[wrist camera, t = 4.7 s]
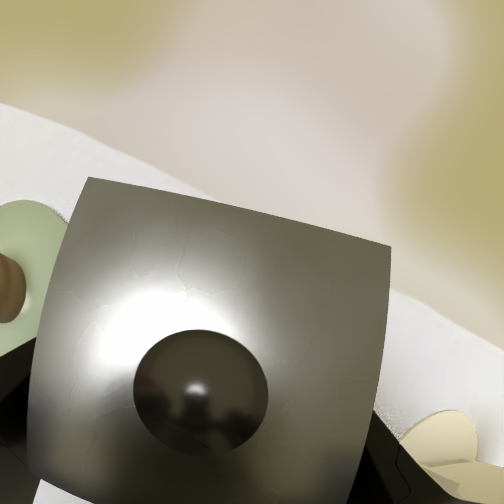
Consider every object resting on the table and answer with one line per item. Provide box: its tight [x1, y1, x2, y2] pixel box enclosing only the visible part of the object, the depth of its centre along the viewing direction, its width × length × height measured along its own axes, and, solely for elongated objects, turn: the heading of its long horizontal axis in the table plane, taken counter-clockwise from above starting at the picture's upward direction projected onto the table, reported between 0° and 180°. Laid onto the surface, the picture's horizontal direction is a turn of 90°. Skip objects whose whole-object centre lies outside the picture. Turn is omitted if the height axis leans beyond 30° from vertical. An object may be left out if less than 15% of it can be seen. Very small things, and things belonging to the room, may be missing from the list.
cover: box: [27, 177, 391, 504], centre depth 9 cm, size 7×7×11 cm
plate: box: [0, 200, 68, 357], centre depth 13 cm, size 12×12×1 cm
